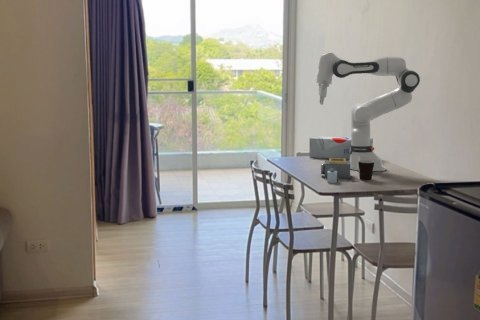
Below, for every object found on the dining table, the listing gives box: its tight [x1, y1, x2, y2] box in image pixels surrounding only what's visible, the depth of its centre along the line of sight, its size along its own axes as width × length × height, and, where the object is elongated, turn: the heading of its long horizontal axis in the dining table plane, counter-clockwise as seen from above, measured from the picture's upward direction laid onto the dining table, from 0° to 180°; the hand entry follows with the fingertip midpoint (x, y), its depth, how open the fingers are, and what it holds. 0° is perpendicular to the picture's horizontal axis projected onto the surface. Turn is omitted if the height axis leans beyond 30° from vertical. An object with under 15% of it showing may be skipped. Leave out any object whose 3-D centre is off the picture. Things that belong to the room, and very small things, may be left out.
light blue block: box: [326, 169, 338, 184], centre depth 313 cm, size 5×5×7 cm
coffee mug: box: [358, 160, 374, 182], centre depth 320 cm, size 12×9×10 cm
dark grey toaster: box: [320, 158, 351, 180], centre depth 328 cm, size 16×11×10 cm
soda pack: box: [309, 135, 374, 161], centre depth 388 cm, size 41×13×14 cm, turn 68°
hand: (321, 103), depth 348 cm, fingers open, 8 cm apart
